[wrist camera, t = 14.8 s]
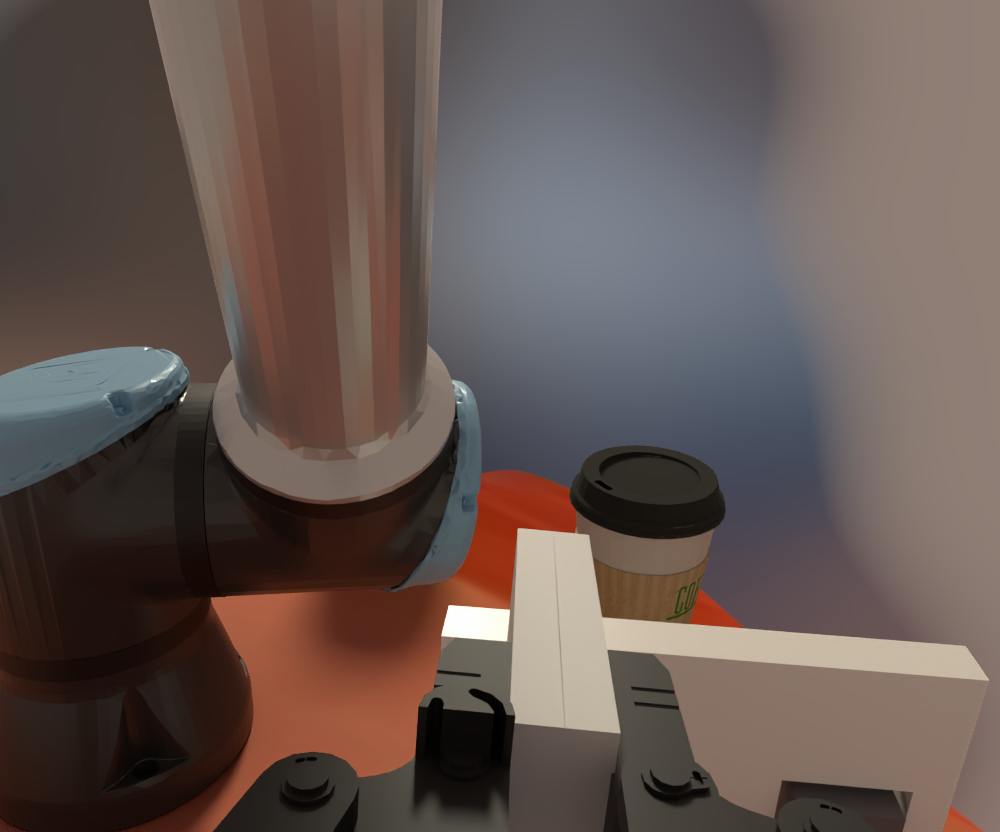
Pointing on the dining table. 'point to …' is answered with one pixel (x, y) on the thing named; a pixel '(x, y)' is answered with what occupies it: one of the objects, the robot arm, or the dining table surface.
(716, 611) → the dining table surface
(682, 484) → the coffee cup
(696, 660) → the button panel
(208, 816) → the dining table surface
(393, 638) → the dining table surface
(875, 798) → the black button
